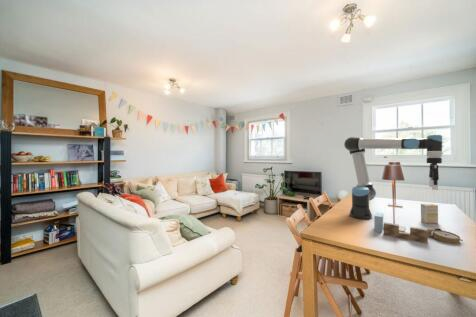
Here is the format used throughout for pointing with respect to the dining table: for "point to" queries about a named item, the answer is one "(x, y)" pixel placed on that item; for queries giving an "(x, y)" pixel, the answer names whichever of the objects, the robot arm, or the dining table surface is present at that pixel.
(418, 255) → the dining table surface
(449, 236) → the alarm clock
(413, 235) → the walnut rail
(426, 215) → the supplement box
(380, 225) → the slotted blue block
